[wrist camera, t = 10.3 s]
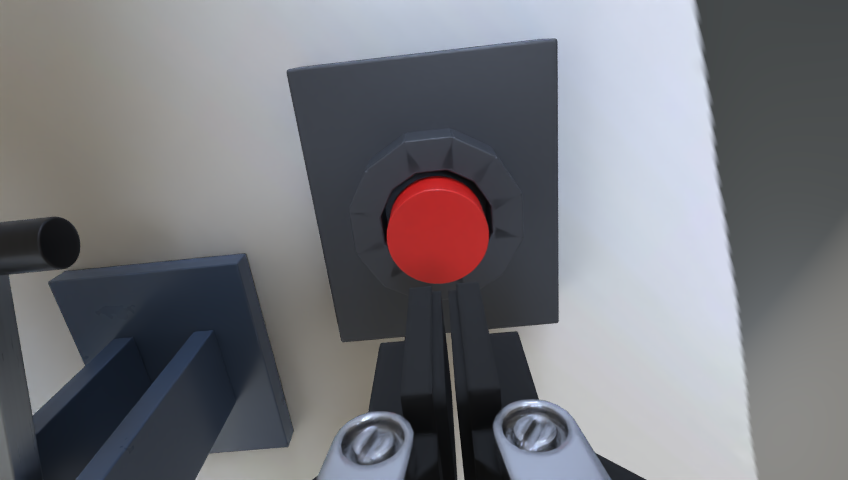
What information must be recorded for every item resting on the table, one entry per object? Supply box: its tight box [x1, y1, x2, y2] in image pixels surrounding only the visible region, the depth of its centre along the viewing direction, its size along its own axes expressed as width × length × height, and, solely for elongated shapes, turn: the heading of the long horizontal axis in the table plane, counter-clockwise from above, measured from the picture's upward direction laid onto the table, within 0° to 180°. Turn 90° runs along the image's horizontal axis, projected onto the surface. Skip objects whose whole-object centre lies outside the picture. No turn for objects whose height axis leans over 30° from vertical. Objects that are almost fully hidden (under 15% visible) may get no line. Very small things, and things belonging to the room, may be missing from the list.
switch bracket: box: [33, 254, 294, 480], centre depth 19 cm, size 11×9×13 cm
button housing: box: [287, 39, 559, 342], centre depth 20 cm, size 12×10×4 cm
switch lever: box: [0, 217, 80, 480], centre depth 15 cm, size 12×6×2 cm, turn 7°
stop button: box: [387, 176, 489, 284], centre depth 18 cm, size 4×4×2 cm
